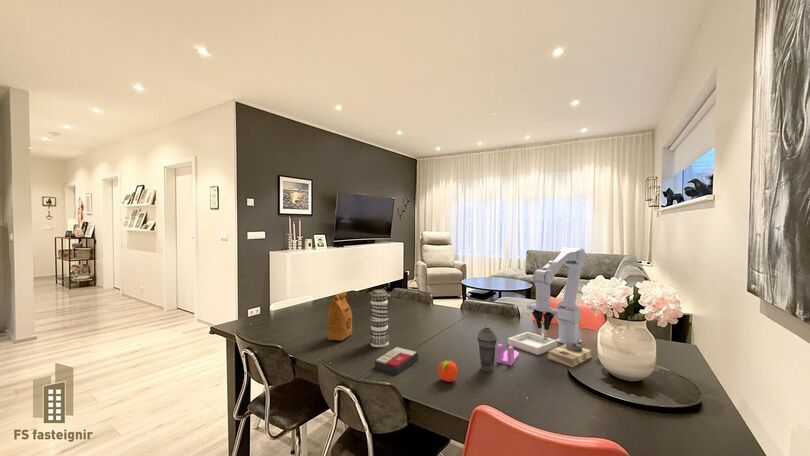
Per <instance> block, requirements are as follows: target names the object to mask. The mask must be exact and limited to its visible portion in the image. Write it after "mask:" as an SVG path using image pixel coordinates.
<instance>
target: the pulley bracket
mask: <svg viewBox="0 0 810 456" xmlns="http://www.w3.org/2000/svg"><path fill="white" fill-rule="evenodd" d="M547 352H548V353H547V355H548V356H547V359H548V360H550V361H554V362H557V363H560V364H563V365H566V366H569V367H571V368H574V367H576V366H578V365H580V364H582V363H583V362H585V361H587V360H589V359H591V358H592V350H591V349H588V348H585V347H583V345H581V344H579V343H575V342H572V343H566V344H564V343H563V344H562V345H560V346H557V347H556V348H554V349H552V350H549V351H547Z"/></svg>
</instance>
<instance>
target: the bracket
mask: <svg viewBox="0 0 810 456" xmlns="http://www.w3.org/2000/svg"><path fill="white" fill-rule="evenodd" d="M496 347H497V349H496V359H497V360H496V362H497V363H499V364H501V365H502V364H503V365H506V366H507V365H508V366H513V364H514V363H515V362H516V361H517V360H518V359H519V357H520V352H519V351H517V350H515V347H513V346H510V345H508V347H507V349H506V350H504V348H505V347H504V344H503V343H498V344H497V346H496Z"/></svg>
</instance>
